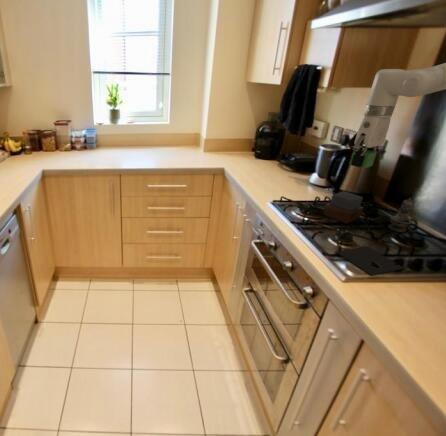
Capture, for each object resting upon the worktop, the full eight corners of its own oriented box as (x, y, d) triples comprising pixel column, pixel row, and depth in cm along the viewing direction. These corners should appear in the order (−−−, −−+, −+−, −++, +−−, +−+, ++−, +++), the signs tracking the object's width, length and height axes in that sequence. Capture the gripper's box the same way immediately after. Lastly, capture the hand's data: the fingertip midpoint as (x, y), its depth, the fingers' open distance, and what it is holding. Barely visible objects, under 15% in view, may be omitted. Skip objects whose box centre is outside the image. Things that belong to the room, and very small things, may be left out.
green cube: (357, 162, 114) (361, 148, 112) (372, 165, 110) (377, 151, 108) (348, 164, 112) (353, 151, 110) (364, 168, 108) (369, 154, 106)
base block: (336, 208, 127) (339, 198, 125) (360, 217, 120) (364, 207, 118) (322, 214, 123) (325, 203, 121) (346, 223, 116) (350, 213, 114)
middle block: (340, 200, 124) (343, 190, 122) (359, 206, 118) (363, 197, 117) (329, 204, 121) (332, 194, 119) (348, 211, 116) (352, 201, 114)
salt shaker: (389, 222, 116) (402, 192, 111) (409, 228, 112) (424, 197, 107) (384, 227, 113) (397, 197, 108) (404, 234, 109) (419, 202, 103)
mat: (366, 247, 103) (367, 246, 102) (404, 269, 92) (404, 268, 92) (336, 253, 100) (336, 252, 100) (370, 276, 90) (371, 274, 90)
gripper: (377, 115, 96) (358, 172, 105) (405, 109, 103) (385, 163, 111) (351, 112, 102) (335, 166, 110) (379, 107, 109) (362, 158, 117)
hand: (360, 164), depth 111 cm, fingers closed on green cube, 5 cm apart
